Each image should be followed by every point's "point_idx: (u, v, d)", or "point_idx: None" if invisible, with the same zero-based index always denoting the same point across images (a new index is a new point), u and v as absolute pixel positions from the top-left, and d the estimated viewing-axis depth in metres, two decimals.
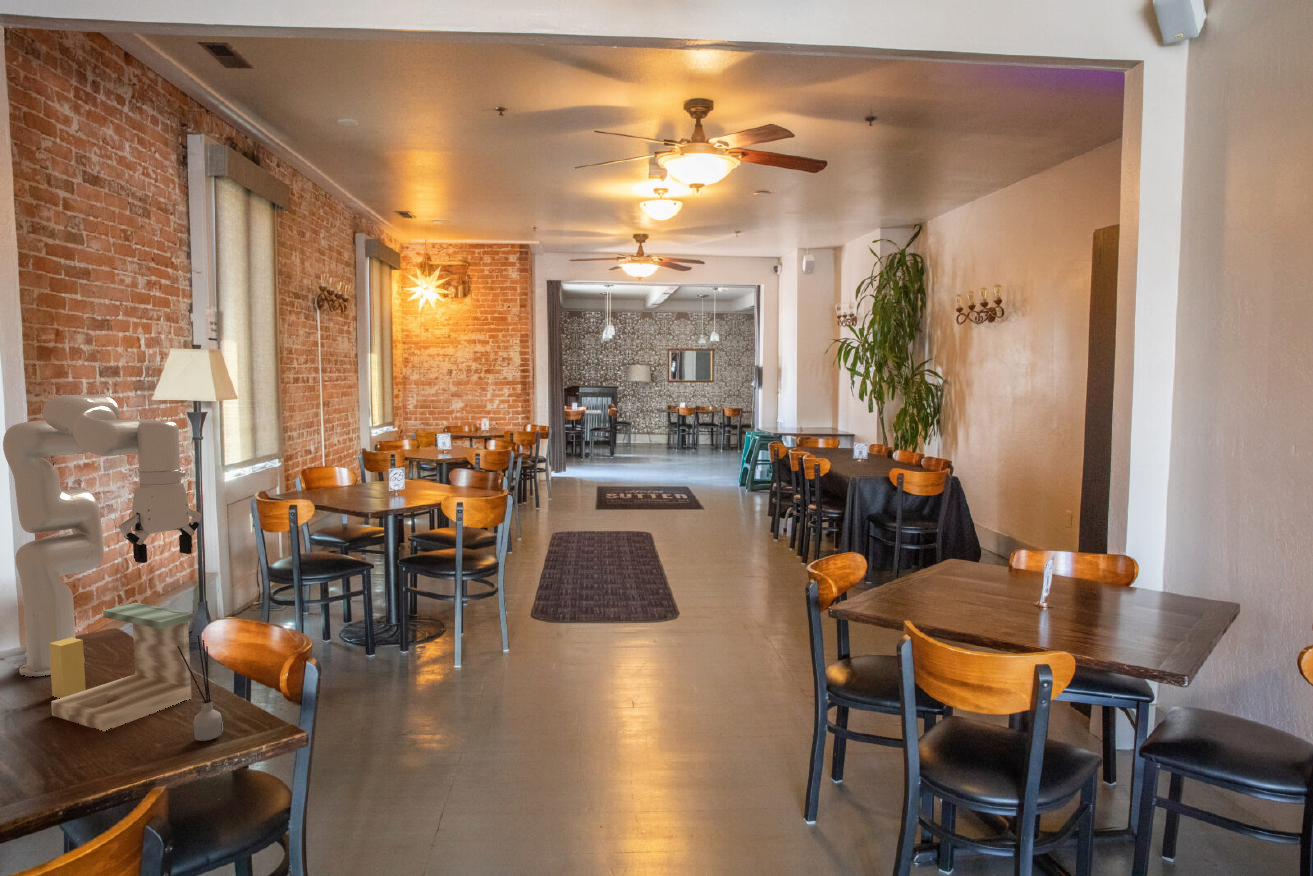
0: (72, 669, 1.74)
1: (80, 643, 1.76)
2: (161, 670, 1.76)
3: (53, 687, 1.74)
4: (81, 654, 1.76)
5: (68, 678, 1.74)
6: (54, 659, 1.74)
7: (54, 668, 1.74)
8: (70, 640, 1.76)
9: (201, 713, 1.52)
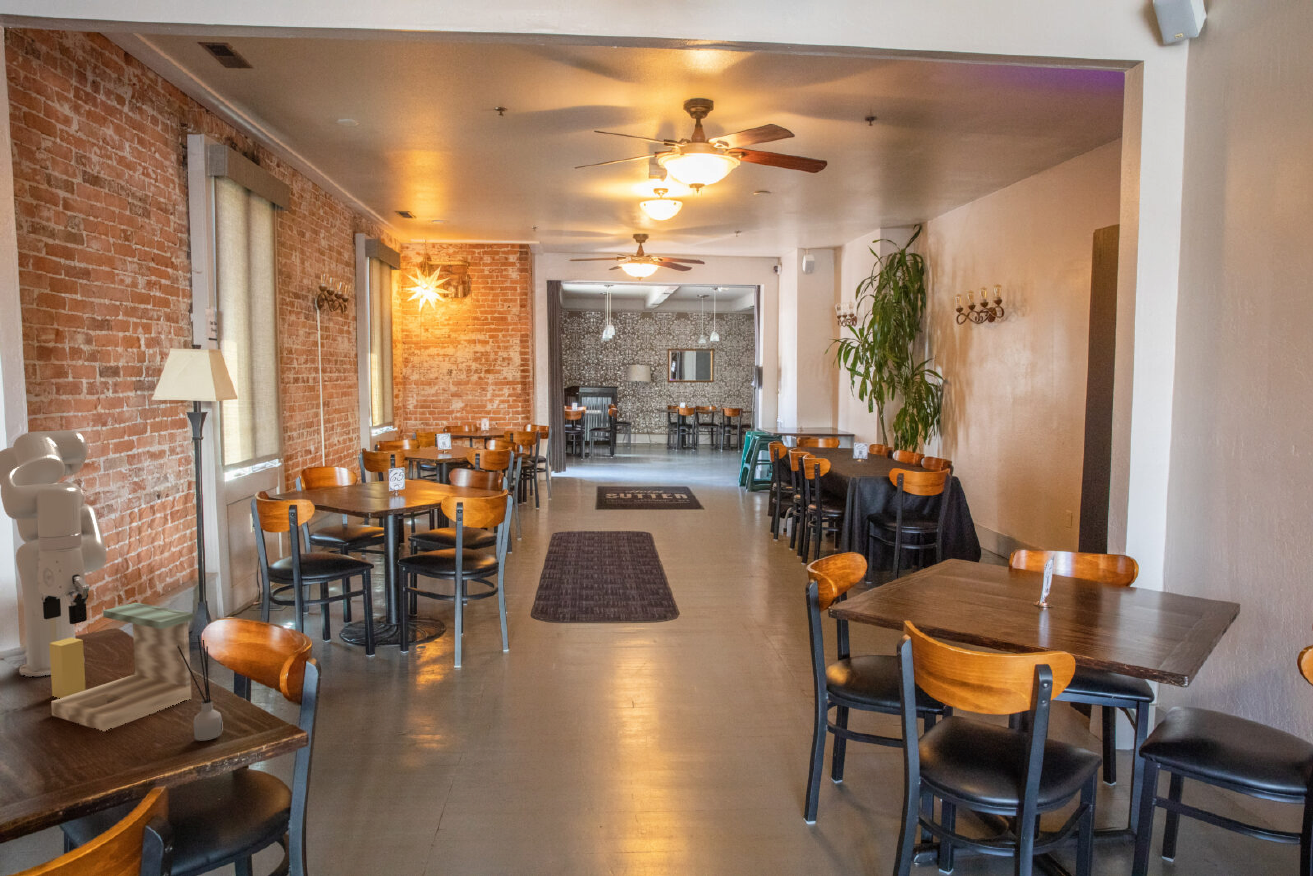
0: (72, 669, 1.74)
1: (80, 643, 1.76)
2: (161, 670, 1.76)
3: (53, 687, 1.74)
4: (81, 654, 1.76)
5: (68, 678, 1.74)
6: (54, 659, 1.74)
7: (54, 668, 1.74)
8: (70, 640, 1.76)
9: (201, 713, 1.52)
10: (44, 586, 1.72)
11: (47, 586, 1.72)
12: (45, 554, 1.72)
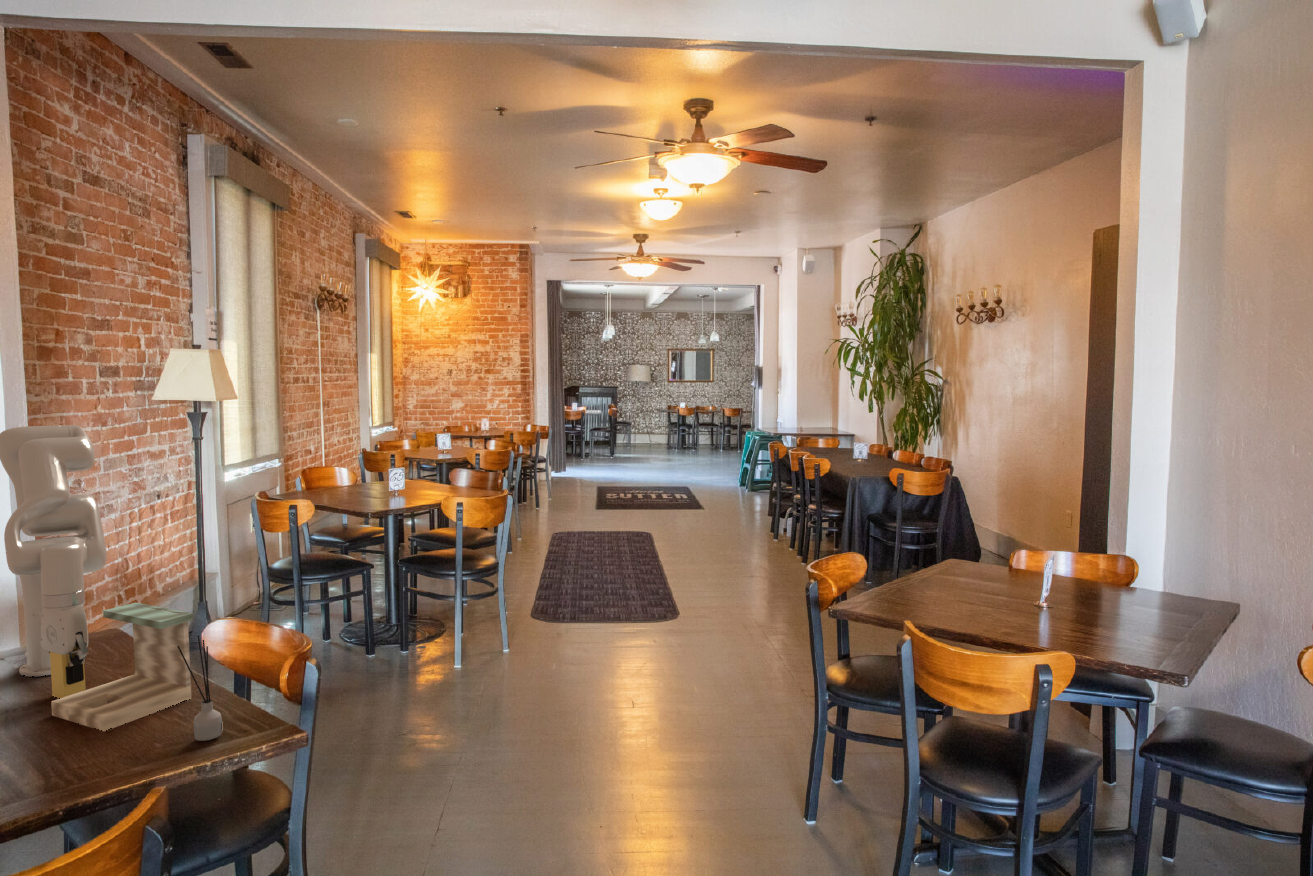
0: None
1: None
2: (161, 670, 1.76)
3: (53, 687, 1.74)
4: None
5: None
6: (54, 659, 1.74)
7: (54, 668, 1.74)
8: None
9: (201, 713, 1.52)
10: (47, 643, 1.73)
11: (50, 643, 1.73)
12: (48, 611, 1.72)
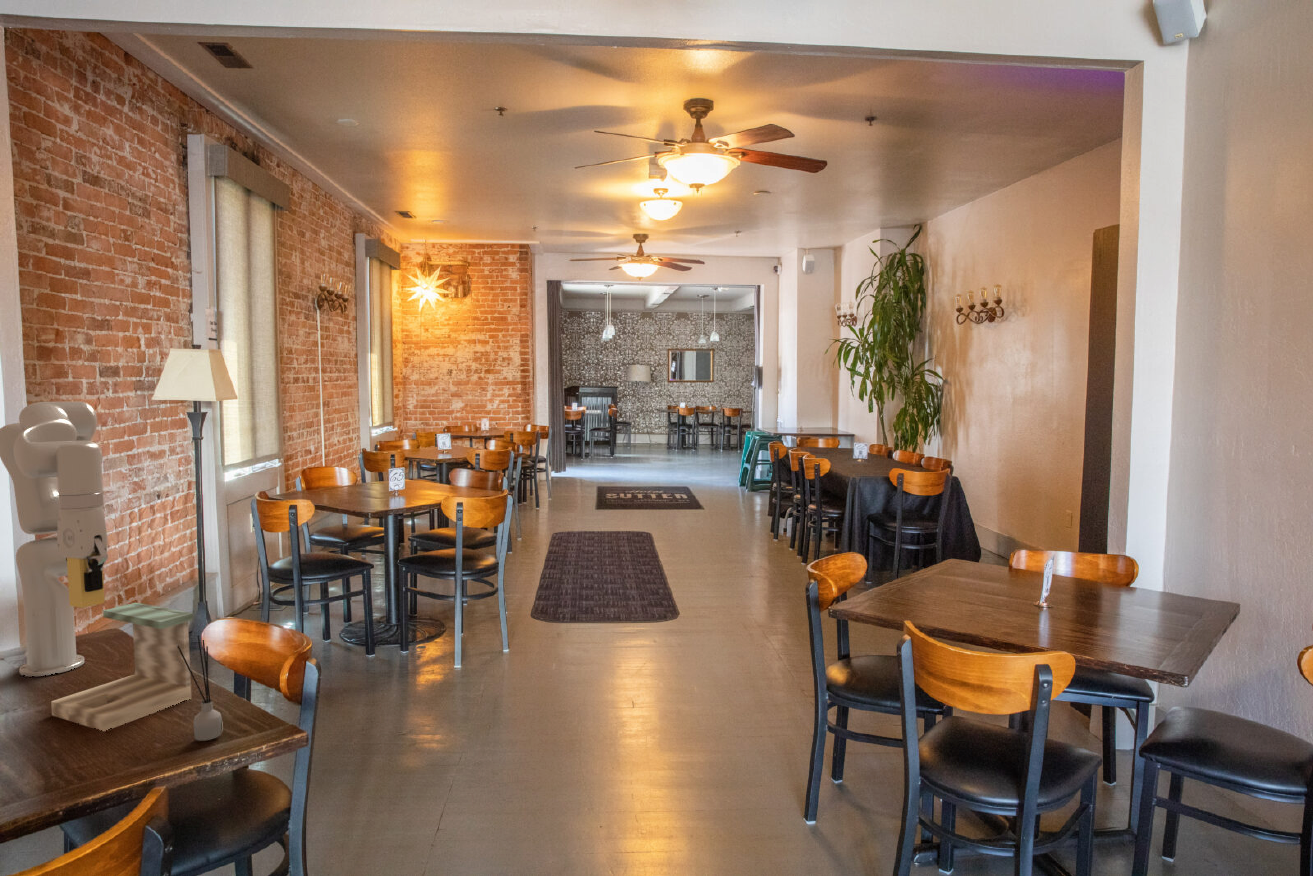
0: None
1: None
2: (161, 670, 1.76)
3: (71, 596, 1.64)
4: None
5: None
6: (71, 565, 1.64)
7: (71, 575, 1.64)
8: None
9: (201, 713, 1.52)
10: (64, 547, 1.63)
11: (67, 547, 1.63)
12: (65, 513, 1.63)
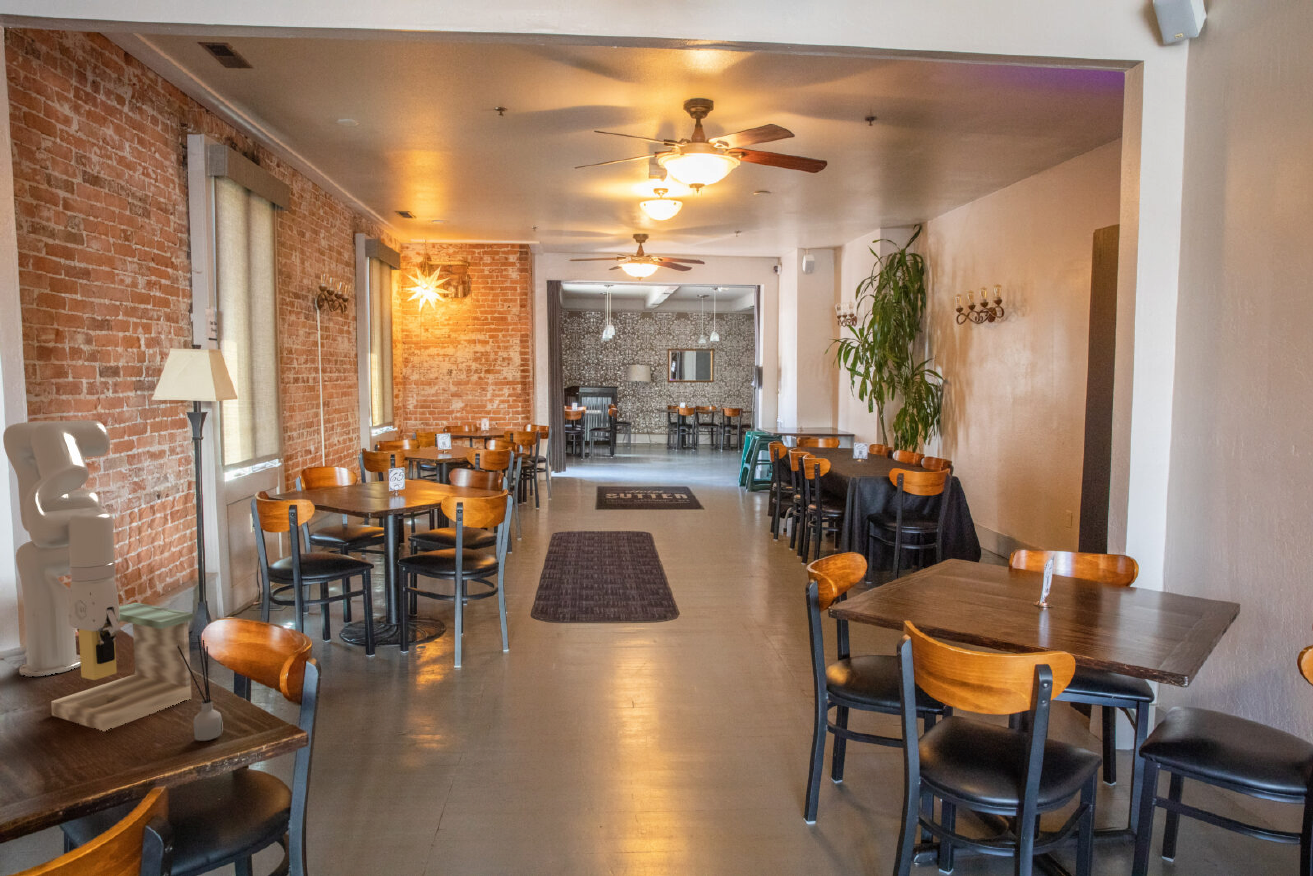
0: None
1: None
2: (161, 670, 1.76)
3: (82, 667, 1.63)
4: None
5: None
6: (83, 636, 1.62)
7: (83, 646, 1.62)
8: None
9: (201, 713, 1.52)
10: (76, 619, 1.62)
11: (79, 619, 1.61)
12: (77, 585, 1.61)
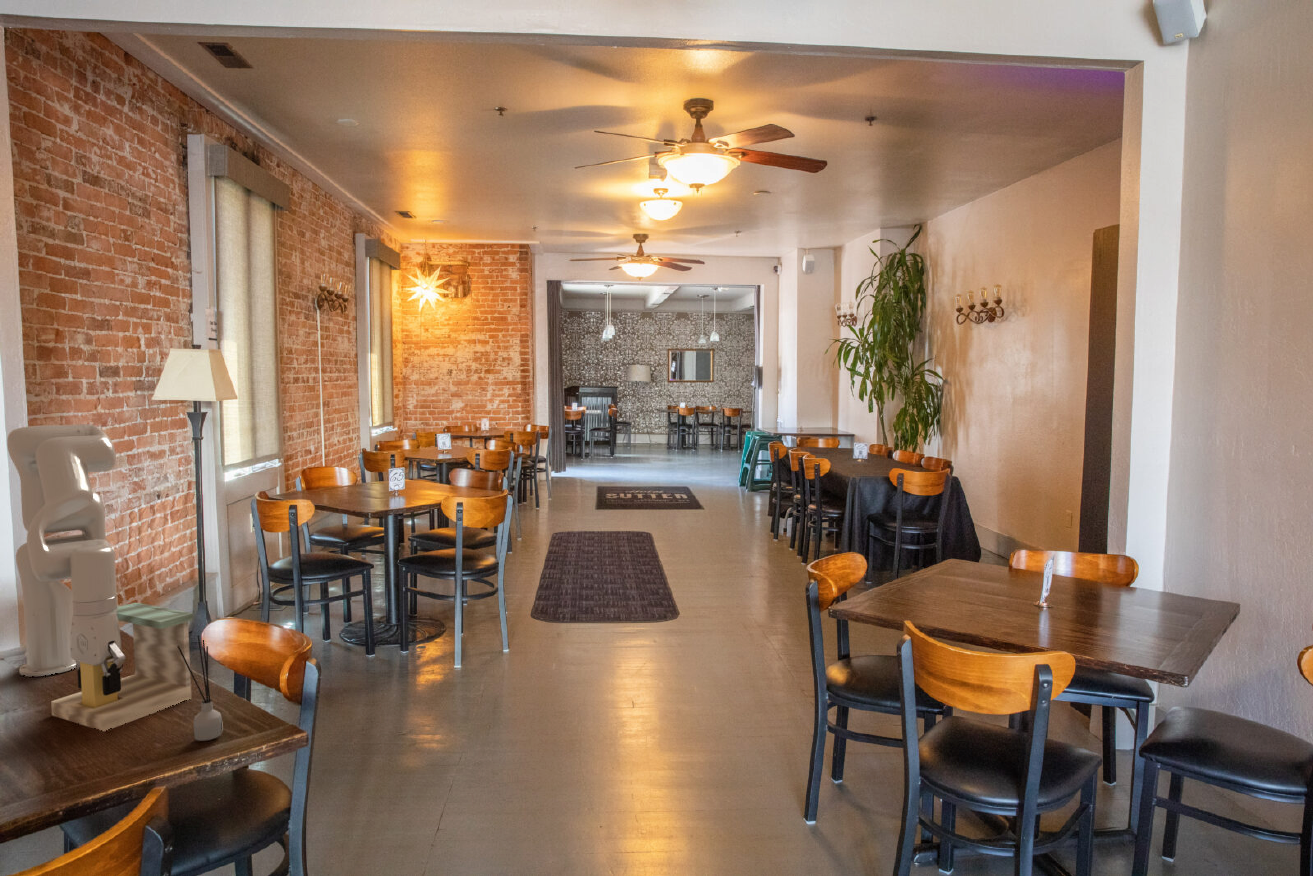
0: None
1: None
2: (161, 670, 1.76)
3: None
4: None
5: (100, 698, 1.63)
6: (85, 677, 1.63)
7: (85, 687, 1.63)
8: None
9: (201, 713, 1.52)
10: (78, 653, 1.62)
11: (81, 653, 1.62)
12: (79, 619, 1.61)
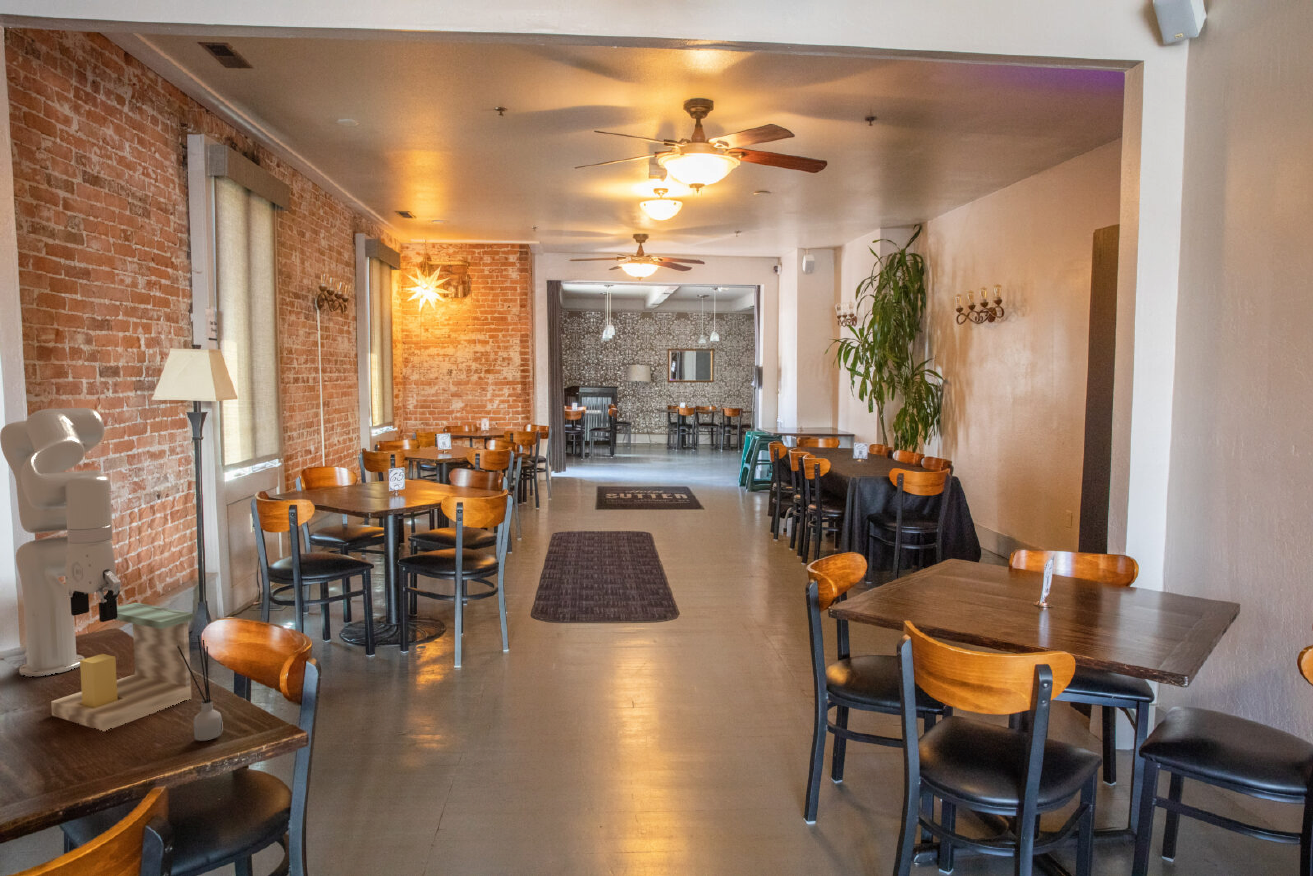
0: (104, 688, 1.64)
1: (112, 660, 1.65)
2: (161, 670, 1.76)
3: None
4: (113, 672, 1.65)
5: (100, 698, 1.63)
6: (85, 677, 1.63)
7: (85, 687, 1.63)
8: (102, 657, 1.65)
9: (201, 713, 1.52)
10: (72, 581, 1.62)
11: (76, 581, 1.61)
12: (74, 547, 1.61)
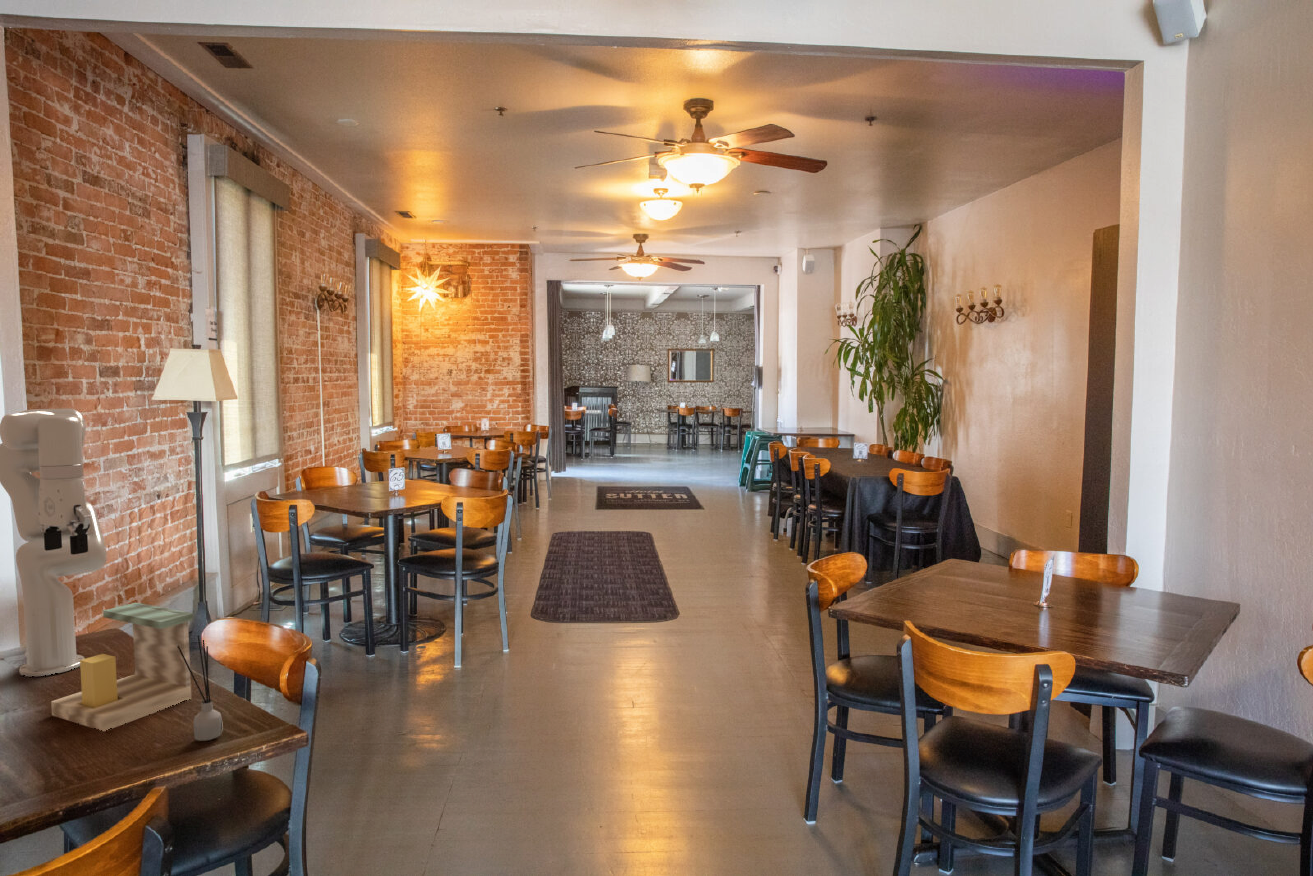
0: (104, 688, 1.64)
1: (113, 660, 1.65)
2: (161, 670, 1.76)
3: None
4: (114, 672, 1.65)
5: (100, 698, 1.63)
6: (85, 677, 1.63)
7: (85, 687, 1.63)
8: (102, 657, 1.65)
9: (201, 713, 1.52)
10: (45, 516, 1.70)
11: (48, 516, 1.70)
12: (46, 484, 1.70)
